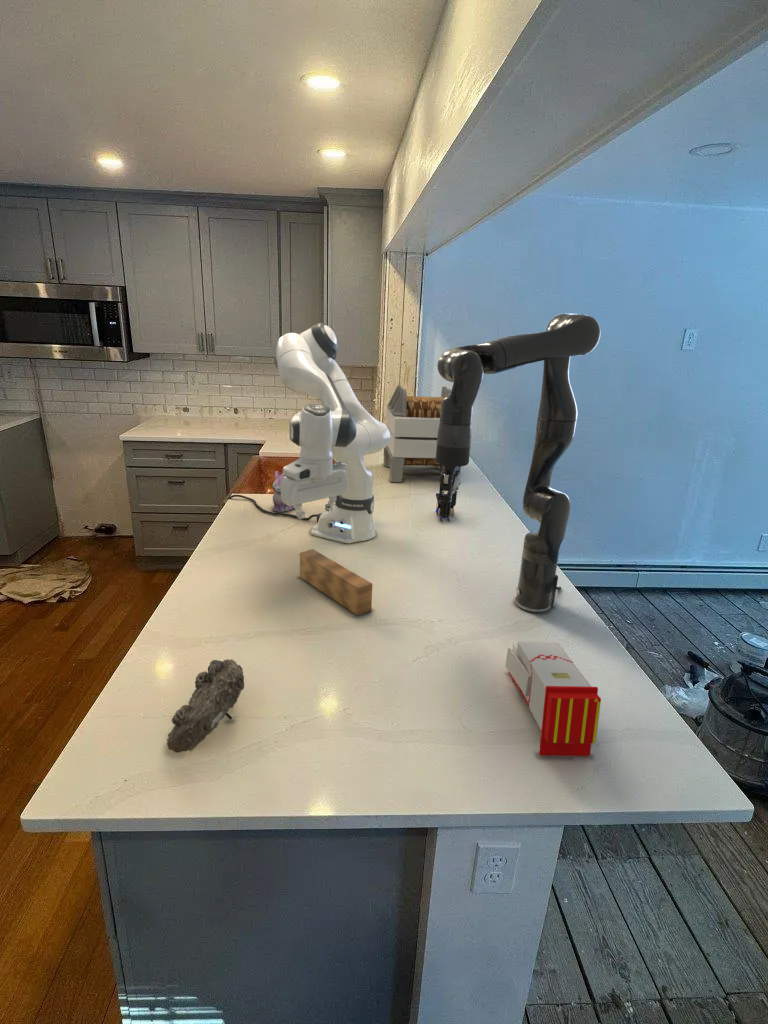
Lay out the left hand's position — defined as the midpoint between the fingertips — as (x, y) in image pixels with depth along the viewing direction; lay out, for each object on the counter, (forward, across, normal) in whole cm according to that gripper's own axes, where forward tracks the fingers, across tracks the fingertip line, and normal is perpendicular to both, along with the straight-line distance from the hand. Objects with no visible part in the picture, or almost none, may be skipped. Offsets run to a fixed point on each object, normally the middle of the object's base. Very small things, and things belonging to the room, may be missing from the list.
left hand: (315, 514), depth 157 cm
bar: (+20, +1, +10) cm, 22 cm away
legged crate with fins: (+22, -106, -62) cm, 125 cm away
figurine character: (+21, -70, -13) cm, 74 cm away
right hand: (-12, -9, +40) cm, 42 cm away
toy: (+18, -3, +74) cm, 77 cm away
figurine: (+22, -26, -56) cm, 65 cm away
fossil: (+19, +49, +36) cm, 64 cm away
